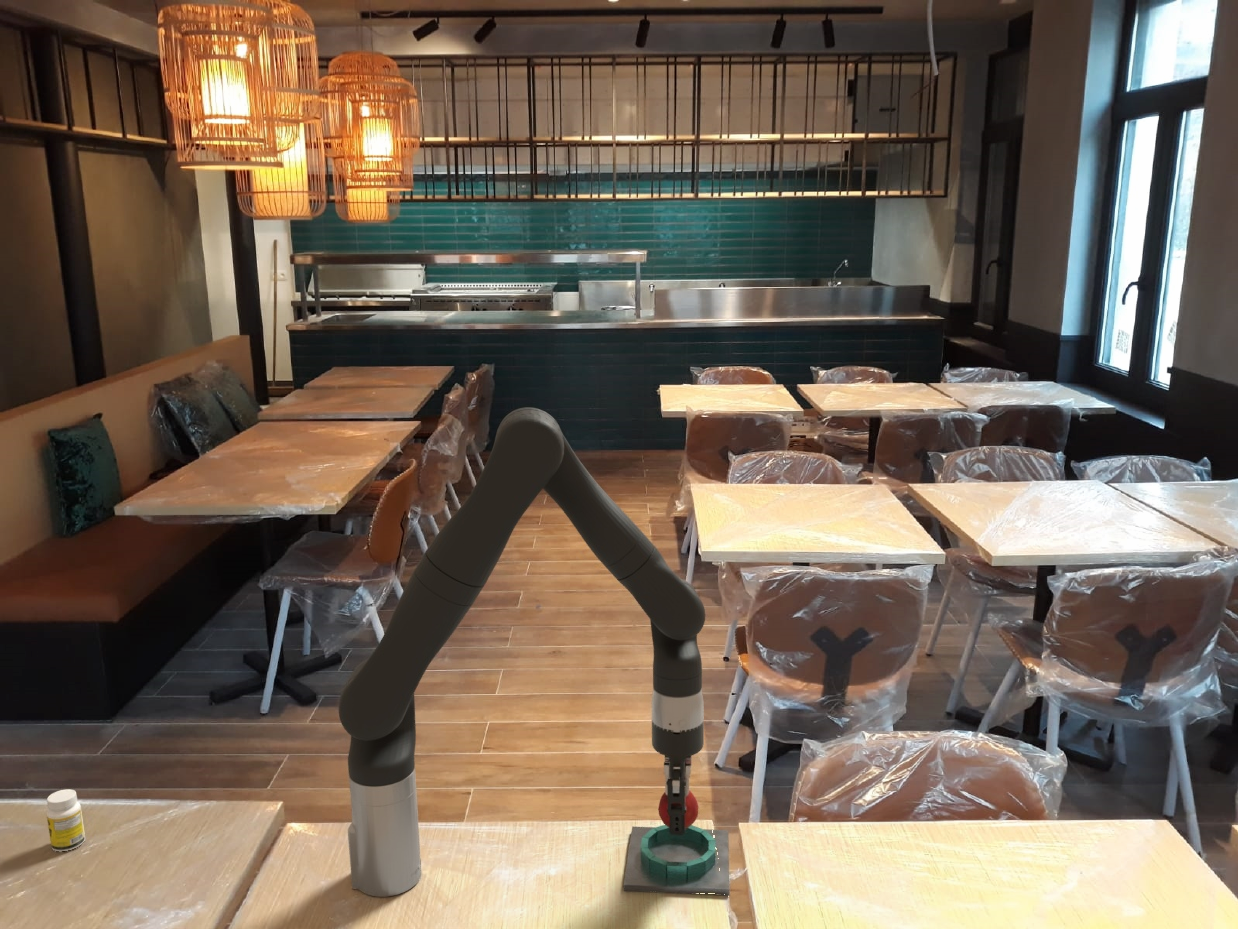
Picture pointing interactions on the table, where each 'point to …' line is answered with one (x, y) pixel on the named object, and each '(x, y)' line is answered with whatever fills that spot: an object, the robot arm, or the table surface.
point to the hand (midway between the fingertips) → (678, 821)
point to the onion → (690, 803)
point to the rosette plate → (678, 861)
